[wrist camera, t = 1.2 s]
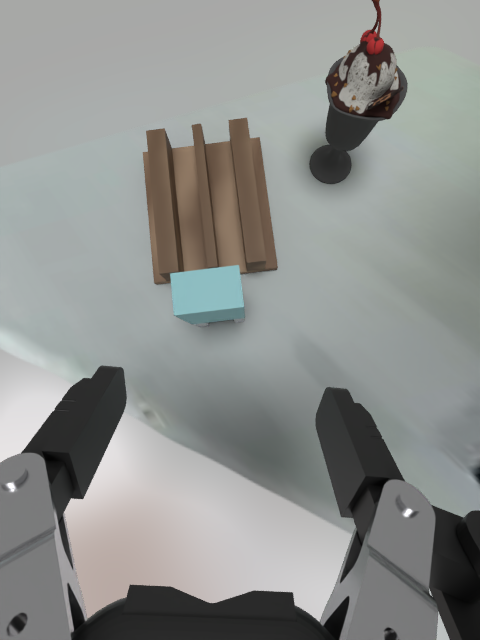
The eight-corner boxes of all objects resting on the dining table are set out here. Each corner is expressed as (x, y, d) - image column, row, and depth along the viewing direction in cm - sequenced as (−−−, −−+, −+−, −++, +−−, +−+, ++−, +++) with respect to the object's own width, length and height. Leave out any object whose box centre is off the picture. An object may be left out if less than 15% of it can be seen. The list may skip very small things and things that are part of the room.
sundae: (307, 134, 34) (357, -39, 19) (362, 145, 33) (457, -22, 18) (296, 184, 33) (338, 46, 18) (352, 195, 33) (441, 65, 18)
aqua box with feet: (241, 294, 32) (238, 264, 21) (244, 322, 31) (244, 306, 20) (196, 300, 32) (170, 273, 21) (199, 327, 31) (174, 315, 20)
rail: (259, 142, 34) (260, 116, 30) (276, 269, 32) (280, 258, 28) (145, 156, 34) (132, 132, 30) (156, 284, 32) (144, 275, 28)
